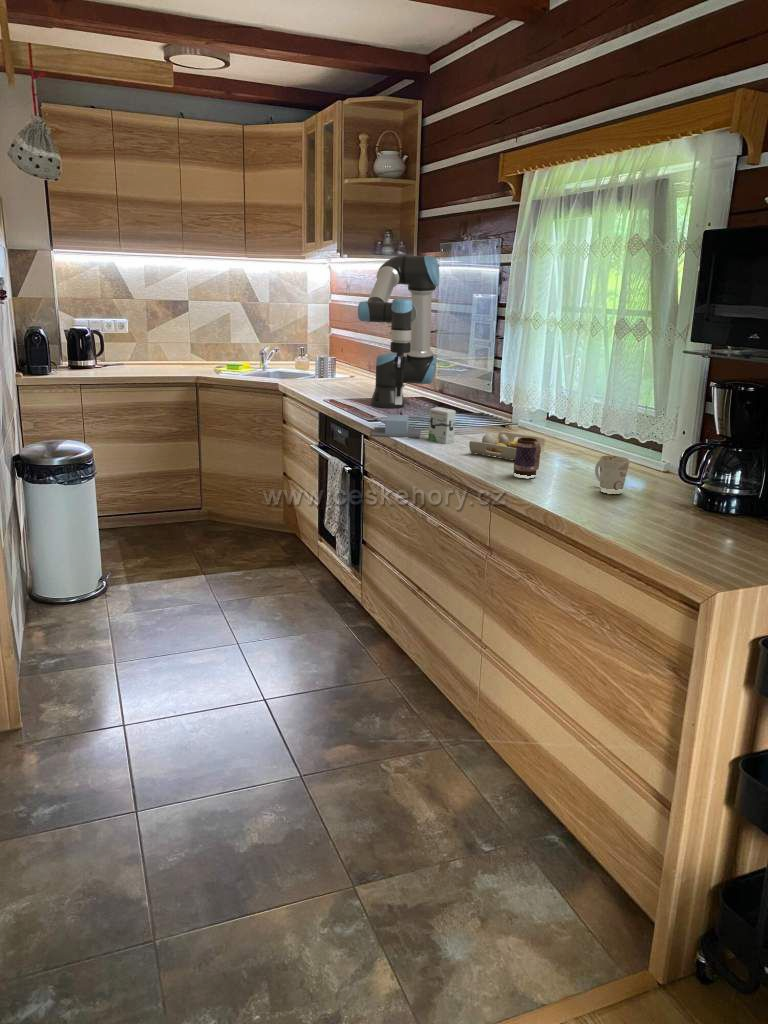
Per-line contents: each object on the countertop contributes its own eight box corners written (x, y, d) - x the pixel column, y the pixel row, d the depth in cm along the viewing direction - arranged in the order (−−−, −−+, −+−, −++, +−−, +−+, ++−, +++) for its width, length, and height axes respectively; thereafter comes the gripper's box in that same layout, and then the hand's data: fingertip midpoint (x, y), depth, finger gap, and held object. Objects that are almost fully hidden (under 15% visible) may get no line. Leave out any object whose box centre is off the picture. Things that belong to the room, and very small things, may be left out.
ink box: (427, 440, 288) (429, 408, 285) (436, 438, 292) (437, 406, 288) (446, 444, 283) (447, 411, 279) (454, 442, 286) (456, 410, 282)
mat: (374, 428, 306) (374, 427, 305) (420, 430, 304) (421, 429, 304) (370, 436, 292) (370, 434, 292) (419, 438, 291) (419, 437, 291)
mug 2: (508, 474, 245) (511, 436, 241) (529, 473, 247) (532, 435, 244) (524, 482, 236) (528, 443, 232) (545, 481, 238) (549, 442, 234)
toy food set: (517, 464, 259) (518, 441, 257) (467, 456, 268) (468, 434, 266) (545, 450, 279) (547, 429, 277) (498, 443, 289) (500, 422, 286)
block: (388, 414, 305) (385, 420, 293) (408, 415, 304) (406, 421, 293) (387, 427, 306) (385, 433, 295) (408, 428, 306) (406, 434, 294)
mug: (608, 497, 223) (612, 463, 220) (581, 486, 234) (584, 453, 231) (631, 495, 227) (636, 461, 224) (603, 483, 237) (607, 451, 234)
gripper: (392, 339, 301) (390, 401, 308) (389, 342, 288) (387, 406, 296) (411, 340, 300) (409, 401, 307) (409, 343, 288) (407, 407, 295)
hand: (398, 404), depth 301 cm, fingers closed
